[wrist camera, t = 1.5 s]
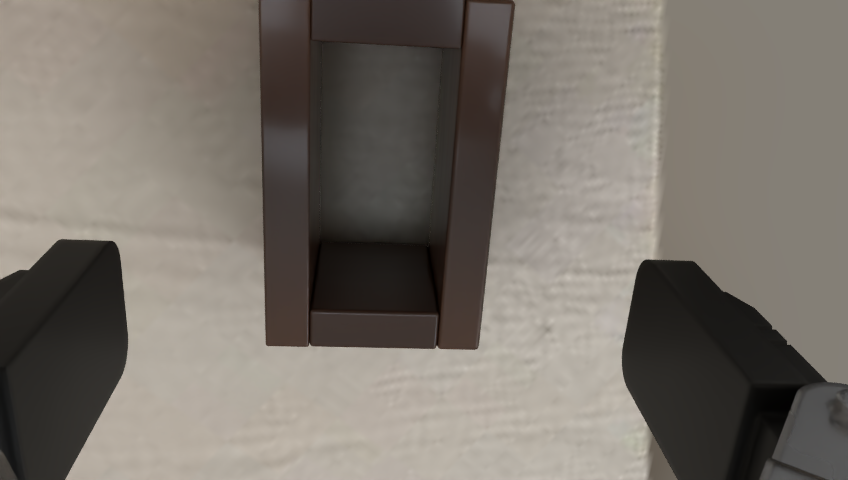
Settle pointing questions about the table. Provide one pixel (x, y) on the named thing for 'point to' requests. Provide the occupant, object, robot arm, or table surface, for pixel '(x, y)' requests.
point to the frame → (452, 183)
